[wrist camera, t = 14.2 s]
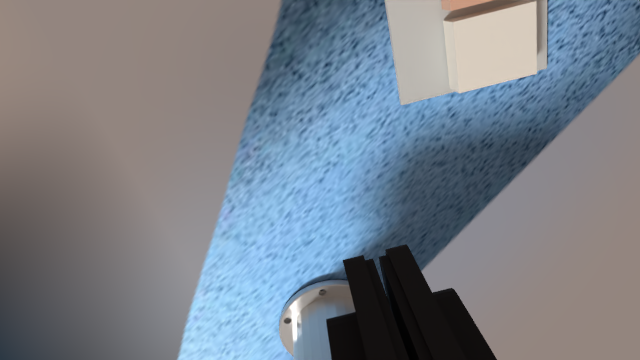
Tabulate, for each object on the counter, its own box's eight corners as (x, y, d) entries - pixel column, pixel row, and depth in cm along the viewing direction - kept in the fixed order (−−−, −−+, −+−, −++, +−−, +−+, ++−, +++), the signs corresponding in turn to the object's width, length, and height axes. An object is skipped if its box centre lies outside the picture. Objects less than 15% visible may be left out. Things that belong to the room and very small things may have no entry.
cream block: (448, 87, 38) (521, 69, 38) (459, 93, 36) (536, 73, 36) (442, 20, 35) (520, 0, 35) (453, 22, 33) (536, 0, 33)
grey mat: (544, 67, 38) (546, 68, 38) (400, 104, 39) (401, 105, 38) (544, -107, 33) (547, -108, 32) (375, -63, 33) (376, -64, 32)
